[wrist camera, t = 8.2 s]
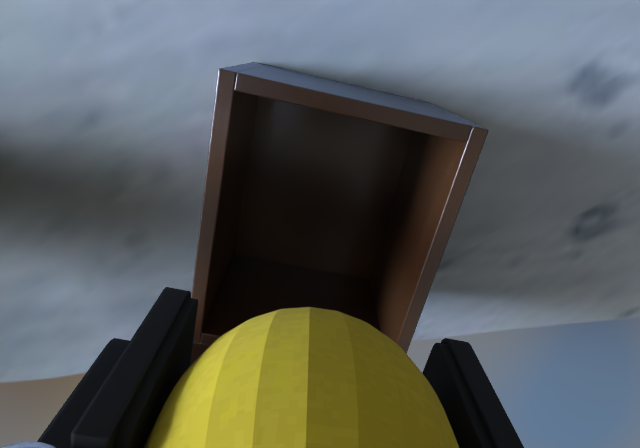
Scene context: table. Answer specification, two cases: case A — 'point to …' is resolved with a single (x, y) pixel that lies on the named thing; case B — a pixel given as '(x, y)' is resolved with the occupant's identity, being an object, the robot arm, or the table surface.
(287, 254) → the chest
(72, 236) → the table surface
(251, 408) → the lemon
